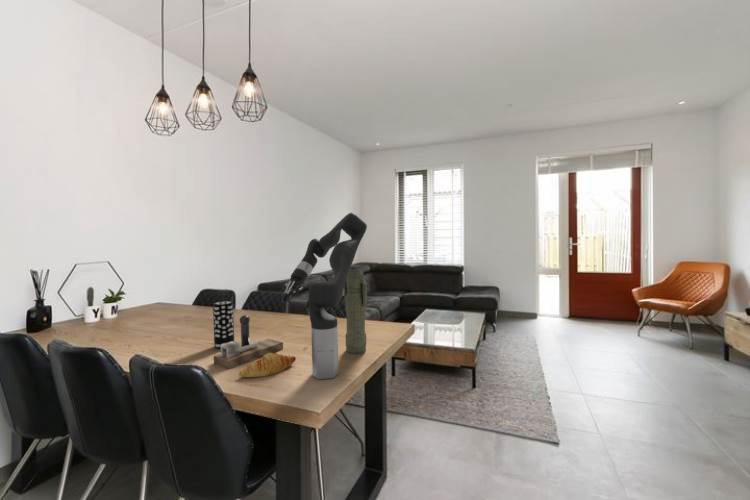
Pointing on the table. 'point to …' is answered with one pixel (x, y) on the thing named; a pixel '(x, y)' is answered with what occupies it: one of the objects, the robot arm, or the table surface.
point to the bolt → (246, 335)
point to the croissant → (267, 365)
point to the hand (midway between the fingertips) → (282, 301)
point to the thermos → (355, 311)
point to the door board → (244, 352)
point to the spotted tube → (223, 323)
